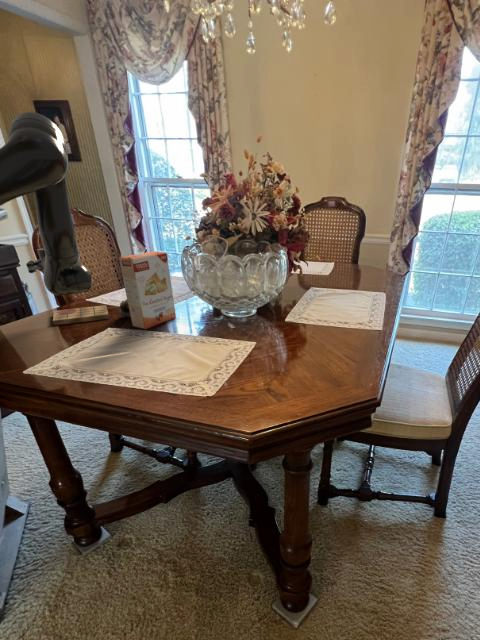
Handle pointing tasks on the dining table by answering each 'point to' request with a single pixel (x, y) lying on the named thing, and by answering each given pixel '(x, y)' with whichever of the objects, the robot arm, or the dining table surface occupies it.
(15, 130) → the robot arm
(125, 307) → the bison figurine
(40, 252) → the black piece
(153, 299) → the cracker box
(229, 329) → the dining table surface
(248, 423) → the dining table surface
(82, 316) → the grid board
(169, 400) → the dining table surface
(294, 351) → the dining table surface
